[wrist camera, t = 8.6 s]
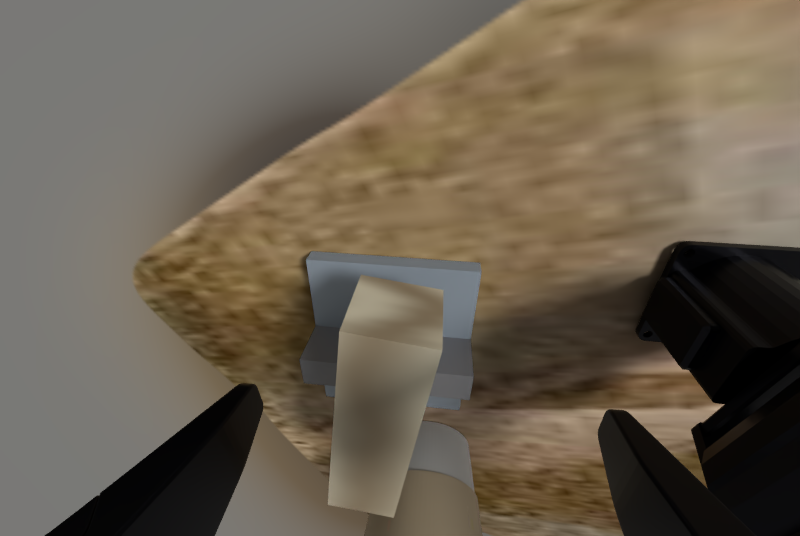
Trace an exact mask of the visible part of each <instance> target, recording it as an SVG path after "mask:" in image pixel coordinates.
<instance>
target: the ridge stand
mask: <svg viewBox="0 0 800 536" xmlns="http://www.w3.org/2000/svg"><path fill="white" fill-rule="evenodd" d="M306 263H307V270H308V277H309V284H310V290H311V297H312V304H313V310H314V317H315V324H316V326H315V328H314V330H313V332H312V334H311V337H310V339H309V341H308V343H307V345H306V347H305V349H304V351H303V353H302V355H301V358H300V365H301V370H302V375H303V381H304V383H308V384H318V385H325V391H326V396H330V397H335V388H336V373H337V358H338V343H339V331H340V328H341V326H342V323H343V320H344V318H345V315H346V312H347V310H348V307H349V305H350V302H351V299H352V297H353V294H354V292H355V289H356V286H357V284H358V281H359V279H360V276H361V275H365V276H371V277H376V278H381V279H387V280H392V281H398V282H403V283H409V284H414V285H419V286H425V287H430V288H436V289H441V290H444V291H443V350H442V354H441V357H440V361H439V364H438V368H437V371H436V375H435V378H434V381H433V385H432V388H431V392H430V395H429V399H428V402H427V405H426V407H433V408H443V409H452V410H459V409H460V403H461V399H463V400H470V394H471V389H472V383H473V378H474V375H473V362H472V350H471V334H472V328H473V322H474V315H475V309H476V303H477V297H478V290H479V284H480V278H481V266H480V263H475V262H461V261H446V260H432V259H417V258H402V257H388V256H373V255H359V254H344V253H330V252H315V251H311V253H310V254H309V256H308V257H307V259H306Z"/></svg>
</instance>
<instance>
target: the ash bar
mask: <svg viewBox="0 0 800 536" xmlns="http://www.w3.org/2000/svg"><path fill="white" fill-rule="evenodd" d="M443 291H444V290H441V289H436V288H430V287H425V286H419V285H414V284H409V283H403V282H398V281H392V280H387V279H381V278H376V277H371V276H365V275H361V276H360V279H359V281H358V284H357V286H356V289H355V292H354V294H353V297H352V299H351V302H350V305H349V307H348V310H347V312H346V315H345V318H344V320H343V323H342V326H341V328H340V331H339V343H338V358H337V373H336V388H335V403H334V417H333V432H332V447H331V462H330V477H329V492H328V505H332V506H337V507H342V508H347V509H352V510H357V511H362V512H367V513H372V514H377V515H382V516H387V517H392V518H394V515H395V512H396V508H397V505H398V502H399V498H400V495H401V491H402V488H403V484H404V481H405V477H406V474H407V471H408V467H409V464H410V460H411V457H412V453H413V450H414V447H415V443H416V440H417V436H418V433H419V429H420V426H421V423H422V419H423V416H424V412H425V409H426V405H427V402H428V399H429V395H430V392H431V388H432V385H433V381H434V378H435V375H436V371H437V368H438V364H439V361H440V357H441V354H442V350H443Z"/></svg>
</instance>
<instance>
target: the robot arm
mask: <svg viewBox="0 0 800 536" xmlns="http://www.w3.org/2000/svg"><path fill="white" fill-rule="evenodd" d="M688 249H690V251H689V252H688V253H686V254H684V252H685V251H687V250H688ZM642 315H643V316H642V318H641V320H640V322H639V324H638V326H637V328H636V331H635V332H636V334H637V335H638V337H639V338H640V339H641V340H644V341H655V342H662V343H663V344H664V346H665V347H666V348H667V350H668V351H669V352H670V354H671V355H672V356H673V358H674V359H675V361H676V362H677V363H678V365H679V366H680V367H681V368H682V369H686V370H689V371H690V372H691V374H692V375H693V376H694V378H695V379H696V380H697V382H698V383H699V384H700V386H701V387H702V388H703V390H704V391H705V392H706V394H707V395H708V396H709V398H710V399H711V400H712V402H714V403H719V404H725V405H724V406H722V407H721V408H720V409H719V410H718V411H716V412H715V413H714V414H713V415H712V416H710V417H709V418H708V419H707V420H706V421H704V422H703V423H701V422H700V423H698V424H697V425H696V426H695V427H693V428H692V429H691V431H692V435H693V439H694V442H695V446H696V449H697V453H698V456H699V460H700V463H701V467H702V470H703V474H704V477H705V481H706V484H707V488H708V489H707V488H706V487H705V486H704V485H703V484H702V483H701V482H700V481H699V480H698V479H697V478H696V477H695V476H694V475H693V474H692V473H691V472H690V471H689V470H688V469H687V468H686V467H685V466H683V465H682V464H681V463H680V462H679V461H678V460H677V459H676V458H675V457H674V456H673V455H672V454H671V453H670V452H669V451H668V450H667V449H666V448H665V447H664V446H663V445H662V444H661V443H660V442H659V441H658V440H657V439H655V438H654V437H653V436H652V435H651V434H650V433H649V432H648V431H647V430H646V429H645V428H644V427H643V426H642V425H641V424H640V423H639V422H638V421H637V420H636V419H635V418H634V417H633V416H632V415H631V414H629V413H628V412H626V411H624V410H613V409H609V410H607V411H606V412H605V415H604V417H603V419H602V422H601V424H600V427H599V429H598V440H599V444H600V448H601V453H602V457H603V461H604V466H605V470H606V474H607V479H608V483H609V487H610V492H611V496H612V500H613V504H614V507H615V510H616V514H617V517H618V520H619V523H620V526H621V529H622V531H623V534H624V536H800V248H794V247H778V246H761V245H745V244H728V243H711V242H695V241H686V242H682V243H680V244H679V245H677V247H676V248H675V249H674V251H673V253H672V256H671V258H670V260H669V262H668V264H667V266H666V268H665V270H664V272H663V274H662V276H661V278H660V280H659V281H658V282H657V285H656V287H655V289H654V291H653V293H652V295H651V297H650V299H649V301H648V303H647V305H646V307H645V309H644V312H643V314H642ZM647 331H648V332H647ZM645 332H646V333H645ZM262 412H263V402H262V399H261V396H260V394H259V391H258V388H257V386H256V385H255V384H248V383H241V384H239V385H237V386H236V387H234V389H232V390H231V391H229V392H228V393H227V394H226V395H224V396H223V397H222V398H220V399H219V400H218V401H217V402H216V403H214V404H213V405H212V406H210V407H209V408H208V409H206V410H205V411H204V412H203V413H201V414H200V415H199V416H198V417H196V418H195V419H194V420H193V421H191V422H190V423H189V424H187V425H186V426H185V427H184V428H182V429H181V430H180V431H179V432H177V433H176V434H175V435H174V436H172V437H171V438H170V439H168V440H167V441H166V442H165V443H163V444H162V445H161V446H159V447H158V448H157V449H156V450H154V451H153V452H152V453H151V454H149V455H148V456H147V457H146V458H144V459H143V460H142V461H140V462H139V463H138V464H137V465H136V466H134V467H133V468H132V469H130V470H129V471H128V472H126V473H125V474H124V475H123V476H121V477H120V478H119V479H118V480H116V481H115V482H114V483H113V484H111V485H110V486H109V487H107V488H106V489H105V490H104V491H102V492H101V493H100V496H96V497H95V498H93V499H92V500H91V501H89V502H88V503H87V504H86V505H84V506H83V507H82V508H81V509H79V510H78V511H77V512H75V513H74V514H73V515H71V516H70V517H69V518H67V519H66V520H65V521H64V522H62V523H61V524H60V525H58V526H57V527H56V528H54V529H53V530H52V531H51V532H49V533H48V534H46V535H45V536H215V534H216V532H217V529H218V527H219V525H220V522H221V520H222V518H223V515H224V513H225V511H226V508H227V506H228V504H229V502H230V499H231V497H232V495H233V493H234V490H235V488H236V486H237V483H238V481H239V479H240V476H241V474H242V472H243V469H244V467H245V464H246V461H247V458H248V454H249V452H250V449H251V446H252V443H253V440H254V436H255V433H256V430H257V427H258V424H259V421H260V418H261V415H262Z"/></svg>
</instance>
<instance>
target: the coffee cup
mask: <svg viewBox="0 0 800 536" xmlns="http://www.w3.org/2000/svg"><path fill="white" fill-rule="evenodd" d="M364 536H482V528H481V521H480V513H479V506H478V499H477V496H476V494H475V492H474V485H473V477H472V469H471V461H470V453H469V445H468V442H467V440H466V438H465V437H464V436H463V435H462V434H461V433H460V432H458V431H457V430H455V429H454V428H452V427H450V426H447V425H444V424H441V423H437V422H431V421H422V423H421V426H420V429H419V433H418V436H417V440H416V443H415V447H414V450H413V453H412V457H411V460H410V464H409V467H408V471H407V474H406V477H405V481H404V484H403V488H402V491H401V495H400V498H399V502H398V505H397V508H396V512H395V515H394V518H392V517H387V516H382V515H377V514H372V513H369V517H368V522H367V526H366V530H365V534H364Z"/></svg>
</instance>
